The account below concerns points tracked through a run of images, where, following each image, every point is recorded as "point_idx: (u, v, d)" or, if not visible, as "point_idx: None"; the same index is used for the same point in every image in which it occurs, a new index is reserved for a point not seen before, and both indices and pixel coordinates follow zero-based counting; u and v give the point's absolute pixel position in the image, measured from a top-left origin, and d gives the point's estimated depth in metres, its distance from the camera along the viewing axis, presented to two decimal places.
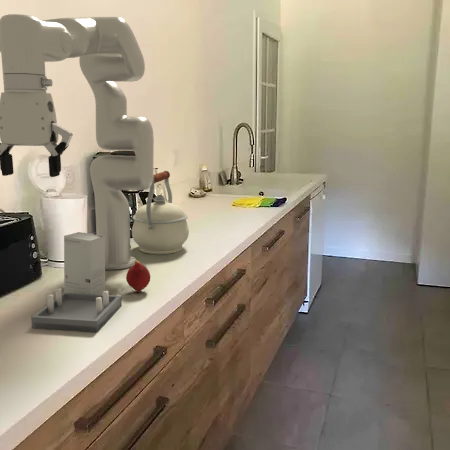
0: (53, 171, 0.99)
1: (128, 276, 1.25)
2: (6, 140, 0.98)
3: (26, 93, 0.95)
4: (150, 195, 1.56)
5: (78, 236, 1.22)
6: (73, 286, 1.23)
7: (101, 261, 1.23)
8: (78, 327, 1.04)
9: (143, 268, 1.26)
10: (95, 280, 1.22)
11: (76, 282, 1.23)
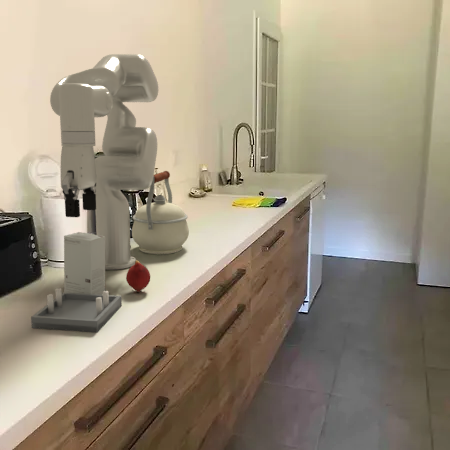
0: None
1: (128, 276, 1.25)
2: (82, 186, 1.16)
3: (91, 146, 1.19)
4: (150, 195, 1.56)
5: (78, 236, 1.22)
6: (73, 286, 1.23)
7: (101, 261, 1.23)
8: (78, 327, 1.04)
9: (143, 268, 1.26)
10: (95, 280, 1.22)
11: (76, 282, 1.23)
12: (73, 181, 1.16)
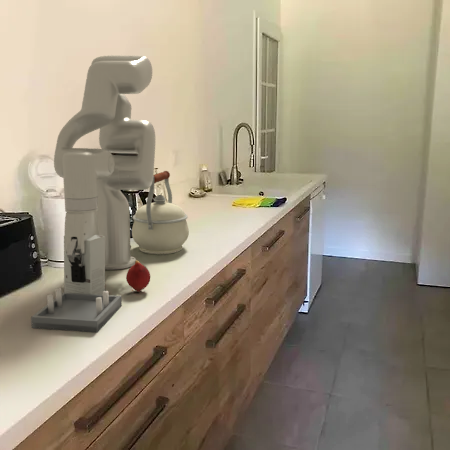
0: None
1: (128, 276, 1.25)
2: None
3: None
4: (150, 195, 1.56)
5: None
6: (73, 286, 1.23)
7: (101, 261, 1.23)
8: (78, 327, 1.04)
9: (143, 268, 1.26)
10: (95, 280, 1.22)
11: (76, 282, 1.23)
12: (77, 246, 1.20)
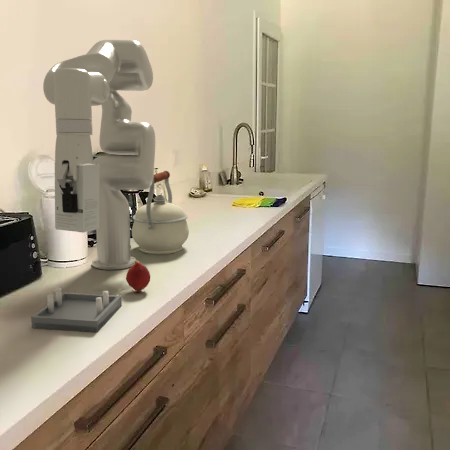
0: None
1: (128, 276, 1.25)
2: (78, 177, 1.10)
3: (87, 135, 1.13)
4: (150, 195, 1.56)
5: None
6: (64, 218, 1.13)
7: (95, 191, 1.13)
8: (78, 327, 1.04)
9: (143, 268, 1.26)
10: (88, 211, 1.12)
11: (67, 214, 1.12)
12: (68, 172, 1.10)
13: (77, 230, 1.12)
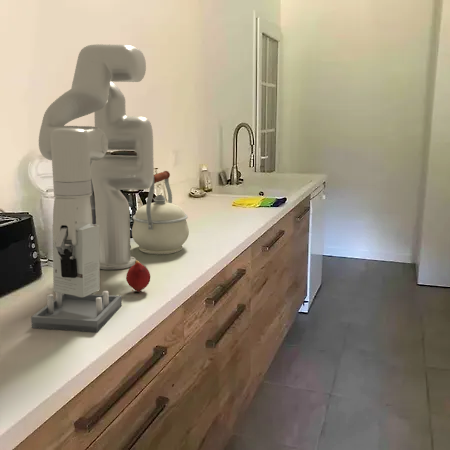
0: None
1: (128, 276, 1.25)
2: (77, 241, 1.05)
3: None
4: (150, 195, 1.56)
5: None
6: (63, 282, 1.09)
7: (95, 253, 1.09)
8: (78, 327, 1.04)
9: (143, 268, 1.26)
10: (88, 275, 1.08)
11: None
12: (67, 236, 1.05)
13: (77, 294, 1.08)
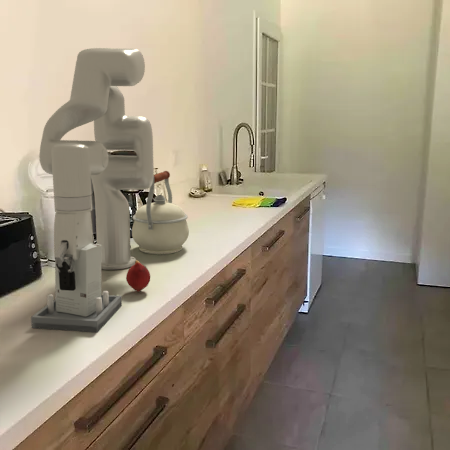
0: None
1: (128, 276, 1.25)
2: (78, 256, 1.06)
3: None
4: (150, 195, 1.56)
5: None
6: (66, 301, 1.10)
7: (97, 272, 1.10)
8: (78, 327, 1.04)
9: (143, 268, 1.26)
10: (91, 294, 1.09)
11: (69, 297, 1.09)
12: (68, 250, 1.06)
13: (80, 314, 1.09)
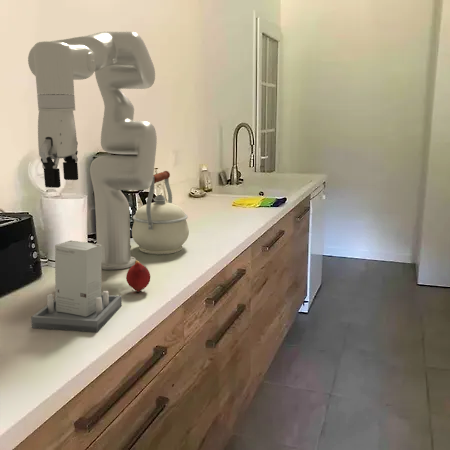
0: None
1: (128, 276, 1.25)
2: (62, 154, 1.08)
3: (70, 111, 1.11)
4: (150, 195, 1.56)
5: (71, 245, 1.08)
6: (66, 301, 1.10)
7: (97, 272, 1.10)
8: (78, 327, 1.04)
9: (143, 268, 1.26)
10: (91, 294, 1.09)
11: (69, 297, 1.09)
12: (52, 149, 1.08)
13: (80, 314, 1.09)
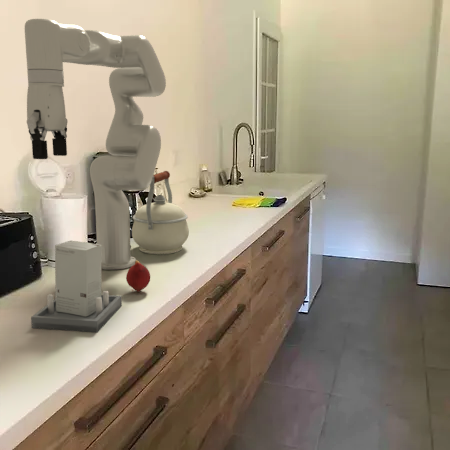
0: None
1: (128, 276, 1.25)
2: (50, 127, 1.13)
3: (59, 87, 1.15)
4: (150, 195, 1.56)
5: (71, 245, 1.08)
6: (66, 301, 1.10)
7: (97, 272, 1.10)
8: (78, 327, 1.04)
9: (143, 268, 1.26)
10: (91, 294, 1.09)
11: (69, 297, 1.09)
12: (40, 122, 1.13)
13: (80, 314, 1.09)
